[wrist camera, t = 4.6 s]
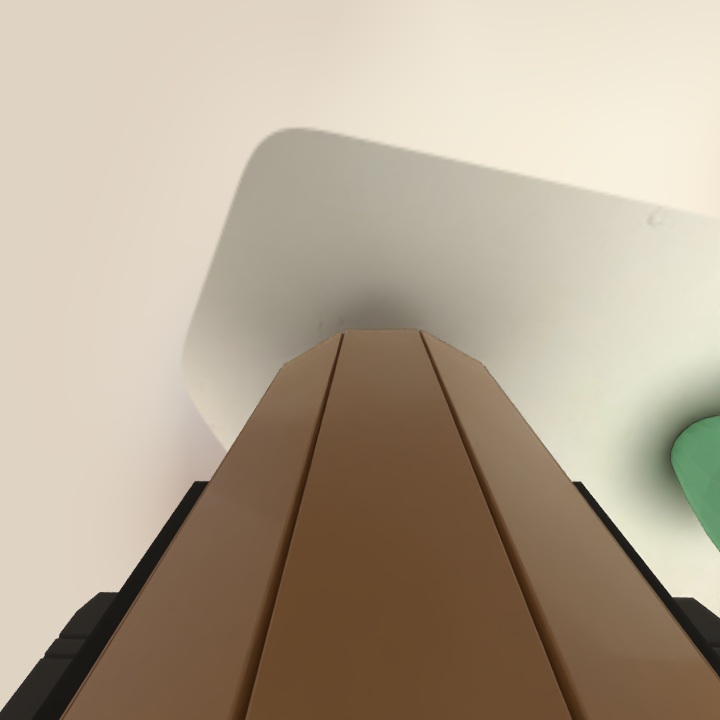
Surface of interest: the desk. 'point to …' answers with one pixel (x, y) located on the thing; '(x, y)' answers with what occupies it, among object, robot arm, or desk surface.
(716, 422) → the mug
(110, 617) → the robot arm
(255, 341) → the desk surface
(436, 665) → the round wooden block
